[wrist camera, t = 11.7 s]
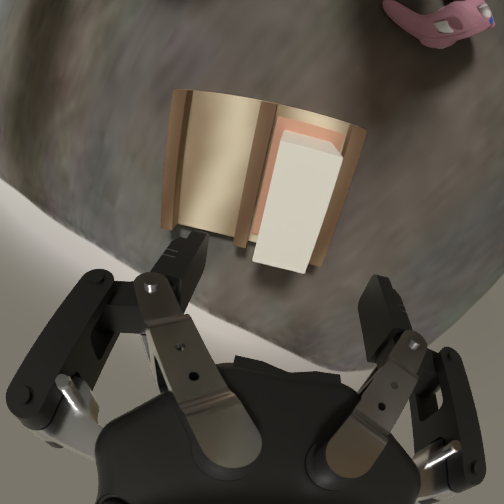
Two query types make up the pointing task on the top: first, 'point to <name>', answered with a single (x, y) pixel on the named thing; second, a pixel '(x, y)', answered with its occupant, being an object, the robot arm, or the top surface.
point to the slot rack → (242, 162)
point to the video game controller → (442, 21)
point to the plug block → (297, 201)
